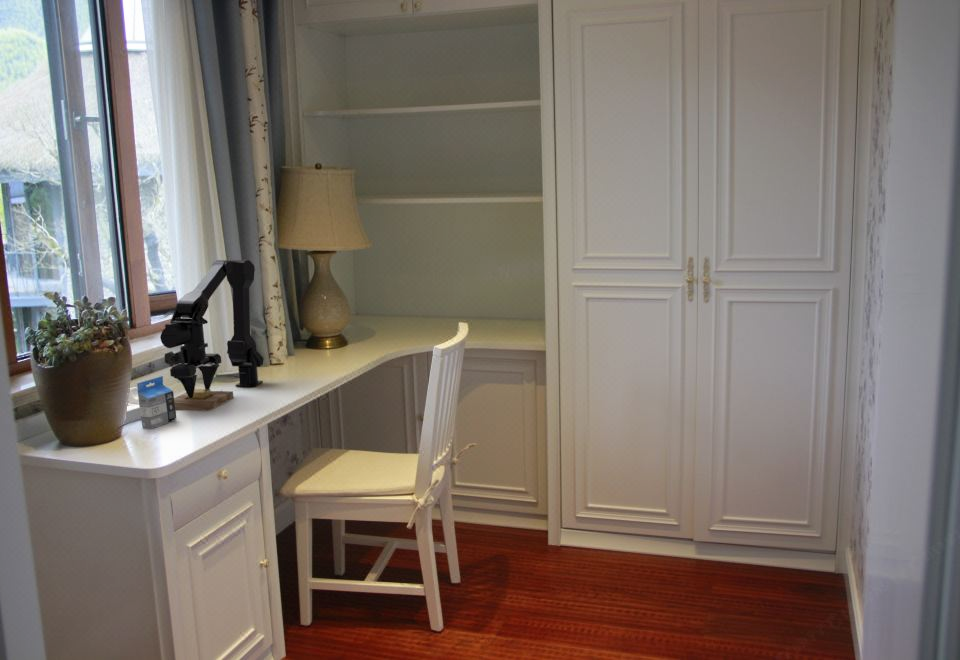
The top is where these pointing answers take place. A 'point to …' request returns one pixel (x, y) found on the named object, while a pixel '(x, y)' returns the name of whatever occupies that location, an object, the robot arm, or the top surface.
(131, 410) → the bracket
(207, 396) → the tan wooden block
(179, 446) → the top surface
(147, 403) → the label tape box
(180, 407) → the brown square frame
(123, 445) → the top surface
